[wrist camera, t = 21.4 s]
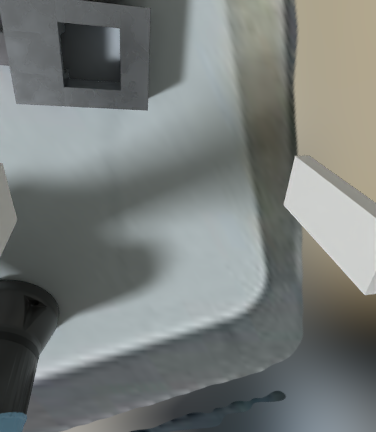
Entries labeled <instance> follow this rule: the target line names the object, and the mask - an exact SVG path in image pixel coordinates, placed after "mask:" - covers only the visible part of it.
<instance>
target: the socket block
mask: <svg viewBox="0 0 376 432" xmlns="http://www.w3.org/2000/svg"><path fill="white" fill-rule="evenodd" d="M150 11H151V8H144V7H136V6H127V5H118V4H109V3H101V2H92V1H83V0H0V15H1V21H2V26H3V32H4V37H5V43H6V49H7V54H8V60H9V65H10V71H11V76H12V82H13V88H14V93H15V99H16V104H30V105H50V106H70V107H90V108H110V109H130V110H148V81H149V46H150ZM64 23H73V24H83V25H93V26H103V27H113V28H120V69H121V82H110V81H95V80H80V79H70V78H69V69H64V67H63V57H62V47H61V37H60V34H62V33H64V32H65V24H64Z"/></svg>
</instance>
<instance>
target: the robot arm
mask: <svg viewBox="0 0 376 432" xmlns="http://www.w3.org/2000/svg"><path fill="white" fill-rule="evenodd" d="M284 206H285V207H286V208H287V209H288V210H289V212H290V213H291V214H292V215H293V216H294V217H295V218H296V219H297V220H298V222H299V223H300V224H301V225H302V226H303V227H304V228H305V229H306V230H307V231H308V233H309V234H310V235H311V236H312V237H313V238H314V239H315V240H316V242H317V243H318V244H319V245H320V246H321V247H322V248H323V249H324V250H325V251H326V253H327V254H328V255H329V256H330V257H331V258H332V259H333V260H334V261H335V263H336V264H337V265H338V266H339V267H340V268H341V269H342V270H343V271H344V272H345V274H346V275H347V276H348V277H349V278H350V279H351V280H352V281H353V282H354V284H355V285H356V286H357V287H358V288H359V289H360V290H361V291H362V292H363V294H364V295H368V294H376V203H375V202H374V201H372V200H371V199H370V198H368V197H367V196H365V195H364V194H363V193H361V192H360V191H358V190H357V189H356V188H354V187H353V186H351V185H350V184H349V183H347V182H346V181H344V180H343V179H342V178H340V177H339V176H337V175H336V174H334V173H333V172H332V171H330V170H329V169H327V168H326V167H325V166H323V165H322V164H320V163H319V162H318V161H316V160H315V159H313V158H312V157H311V156H295V159H294V163H293V167H292V172H291V176H290V180H289V184H288V188H287V193H286V197H285V201H284ZM16 222H17V216H16V212H15V209H14V205H13V201H12V197H11V194H10V190H9V186H8V182H7V178H6V175H5V171H4V167H3V163H0V257H1V255H2V253H3V250H4V248H5V246H6V244H7V242H8V240H9V237H10V235H11V233H12V231H13V229H14V227H15V224H16ZM58 317H59V308H58V305H57V303H56V301H55V300H54V298H53V297H52V296H51V295H50V294H49V293H48V292H46V291H45V290H43V289H41V288H39V287H37V286H35V285H32V284H29V283H25V282H20V281H9V280H7V281H0V432H22V430H23V427H24V424H25V422H26V419H27V416H26V414H27V409H28V405H29V400H30V396H31V391H32V386H33V382H34V377H35V373H36V368H37V363H38V359H39V355H40V354H41V352H42V350H43V349H44V347H45V346H46V344H47V343H48V341H49V339H50V338H51V336H52V335H53V333H54V331H55V329H56V326H57V322H58Z"/></svg>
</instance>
